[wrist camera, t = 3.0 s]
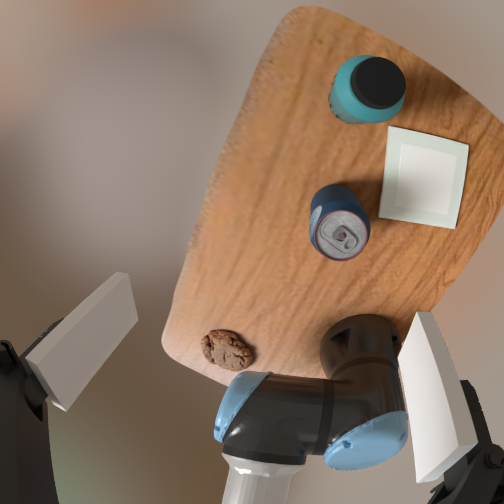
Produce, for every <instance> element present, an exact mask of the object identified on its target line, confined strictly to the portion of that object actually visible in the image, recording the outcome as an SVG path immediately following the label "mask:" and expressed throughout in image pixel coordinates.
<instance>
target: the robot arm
mask: <svg viewBox="0 0 504 504" xmlns="http://www.w3.org/2000/svg"><path fill="white" fill-rule="evenodd" d="M137 321H138V316H137V311H136V307H135V302H134V298H133V293H132V288H131V283H130V278H129V274H125V273H120V272H116V273H115V274H113V275H112V276H111V277H110V278H109V279H108V280H107V281H105V282H104V283H103V284H102V285H101V286H100V287H98V289H96V290H95V291H94V292H93V293H92V294H91V295H90V296H88V298H86V299H85V300H84V301H83V302H82V303H81V304H80V305H79V306H77V308H75V309H74V310H73V311H72V312H71V313H70V314H69V315H68V316H67V317H66V318H65V319H64V318H62V319H61V320H59V321H57V322H55V323H53V324H52V325H51V326H50V327H49V328H48V329H47V330H46V332H44V333H43V334H42V335H41V337H39V338H38V339H37V340H36V341H35V342H34V343H33V344H32V345H31V346H30V347H29V348H28V349H27V350H26V351H25V352H24V353H23V354H22V355H21V356H20V357H18V355H17V354H16V352H15V350H14V348H13V346H12V344H11V343H10V342H9V341H7V340H0V504H59V502H58V497H57V493H56V487H55V481H54V476H53V469H52V462H51V452H50V442H49V429H48V408H47V403H46V401H45V399H46V398H47V396H49V398H50V399H51V401H52V402H53V404H54V405H56V406H57V407H59V408H61V409H63V410H64V411H67V410H68V409H69V408H70V406H71V405H72V404H73V402H74V401H75V399H76V398H77V397H78V395H79V394H80V393H81V392H82V390H83V389H84V388H85V386H86V385H87V384H88V382H89V381H90V380H91V378H92V377H93V376H94V374H95V373H96V372H97V371H98V370H99V368H100V367H101V366H102V364H103V363H104V362H105V361H106V359H107V358H108V357H109V356H110V354H111V353H112V352H113V351H114V349H115V348H116V347H117V346H118V344H119V343H120V342H121V341H122V339H123V338H124V337H125V336H126V334H127V333H128V332H129V331H130V329H131V328H132V327H133V326H134V325H135V323H136V322H137ZM320 361H321V365H322V367H323V369H324V372H325V374H326V376H327V379H320V378H307V377H298V376H289V375H281V374H274V373H273V372H267V373H266V372H255V371H244V372H242V373H240V374H238V375H237V376H236V377H235V378H234V380H233V381H232V382H231V384H230V385H229V387H228V389H227V391H226V393H225V395H224V397H223V400H222V402H221V405H220V408H219V411H218V414H217V417H216V422H215V424H216V426H215V429H214V437H215V439H216V440H218V441H219V442H221V443H224V446H223V451H222V455H223V457H224V458H225V459H226V461H227V462H228V463H229V466H230V470H229V475H228V479H227V483H226V488H225V493H224V496H223V501H222V504H286V500H287V495H288V491H289V486H290V482H291V477H292V475H293V474H294V473H296V472H297V471H299V470H300V469H301V468H303V467H304V466H305V462H306V456H307V455H308V454H309V455H324V457H323V459H324V461H325V463H326V465H327V466H328V467H330V468H335V469H336V470H346V471H348V470H357V469H363V468H367V467H371V466H374V465H377V464H379V463H381V462H384V461H386V460H388V459H390V458H391V457H393V456H394V455H395V454H397V453H398V452H399V451H400V450H401V449H402V448H403V446H404V445H405V443H406V441H407V438H408V423H407V420H408V414H407V413H406V409H405V403H404V398H403V393H402V388H401V383H400V378H399V374H398V367H399V366H400V370H401V375H402V380H403V385H404V390H405V396H406V401H407V407H408V413H409V419H410V426H411V432H412V440H413V449H414V458H415V468H416V480H417V483H421V482H428V481H434V480H436V479H437V478H438V477H440V476H441V475H442V474H444V481H443V482H442V483H440V484H439V485H437V486H436V487H435V488H433V490H431V492H430V493H433V492H434V491H436V492H435V493H434V495H433V496H432V498H431V499H430V501H429V502H428V503H427V504H504V450H503V449H502V448H501V447H500V446H499V445H495V444H492V441H491V438H490V434H489V431H488V427H487V424H486V421H485V418H484V414H483V411H481V409H482V408H481V405H480V403H479V402H478V401H479V399H478V397H477V394H476V391H475V389H474V387H473V386H472V385H471V384H470V382H469V381H468V380H459V378H458V375H457V373H456V370H455V367H454V365H453V362H452V359H451V357H450V354H449V352H448V349H447V347H446V344H445V342H444V340H443V337H442V335H441V333H440V330H439V328H438V326H437V323H436V321H435V319H434V317H433V315H432V313H431V312H416V315H415V317H414V320H413V322H412V325H411V327H410V330H409V332H408V335H407V337H406V340H405V342H404V345H403V347H402V345H401V339H400V336H399V333H398V330H397V328H396V327H395V326H394V325H393V324H392V323H391V322H390V321H389V320H387V319H385V318H383V317H380V316H376V315H357V316H352V317H349V318H346V319H344V320H342V321H340V322H338V323H336V324H335V325H334V326H332V327H331V328H330V329H329V330H328V331H327V332H326V334H325V335H324V337H323V339H322V341H321V345H320Z"/></svg>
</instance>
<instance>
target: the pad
mask: <svg viewBox="0 0 504 504" xmlns="http://www.w3.org/2000/svg"><path fill="white" fill-rule="evenodd" d="M468 148H469V145H466V144H463V143H459V142H456V141H452V140H448V139H445V138H441V137H437V136H433V135H429V134H424V133H420V132H416V131H411V130H406V129H401V128H396V127H391V126H388V137H387V148H386V158H385V168H384V176H383V184H382V191H381V198H380V205H379V211H378V217H380V218H387V219H394V220H401V221H408V222H414V223H420V224H427V225H433V226H439V227H445V228H450V229H455V226H456V221H457V217H458V212H459V207H460V202H461V197H462V191H463V186H464V179H465V173H466V166H467V158H468Z"/></svg>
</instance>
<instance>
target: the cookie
mask: <svg viewBox="0 0 504 504" xmlns="http://www.w3.org/2000/svg"><path fill="white" fill-rule="evenodd" d="M201 346H202V350H203V354H204V357H205V358H206V359H207V360H208V361H209V362H210V363H211V364H217V365H218V366H219V367H221V368H223V369H227V370H231V371H241V370H243V369H246V368H247V367H248V366H249V365H250V364H251V361H252V357H253V356H252V354H251V352H250V349H249V348H245V346H246V345H244V344H243V343H242V342H240V341H239V340H238V337H237V336H236V335H235V334H234V333H230V332H225V331H221V330H217V331H210V332H209V335H207V336H205V337H204V338H203V339H202V340H201Z"/></svg>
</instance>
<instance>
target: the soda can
mask: <svg viewBox="0 0 504 504" xmlns="http://www.w3.org/2000/svg"><path fill="white" fill-rule="evenodd" d="M309 235H310V239H311V242H312V244H313V246H314V247H315V248H316V250H317V251H318V252H320V253H321V254H322V255H324V256H325V257H327V258H328V259H331V260H334V261H347V260H350V259H353V258H355V257H356V256H357V255H359V254H360V253H361V252H362V250H363V249H364V247H365V246H366V244H367V242H368V240H369V237H370V222H369V219H368V217H367V215H366V213H365V211H364V209H363V208H362V206H361V204H360V202H359V200H358V198H357V197H356V195H355V194H354V193H353V192H352V191H351V190H350V189H349V188H347V187H345V186H342V185H329V186H326V187H324V188H322V189H320V190H319V191H318V192H317V193H316V194H315V196H314V197H313V199H312V202H311V209H310V224H309Z"/></svg>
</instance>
